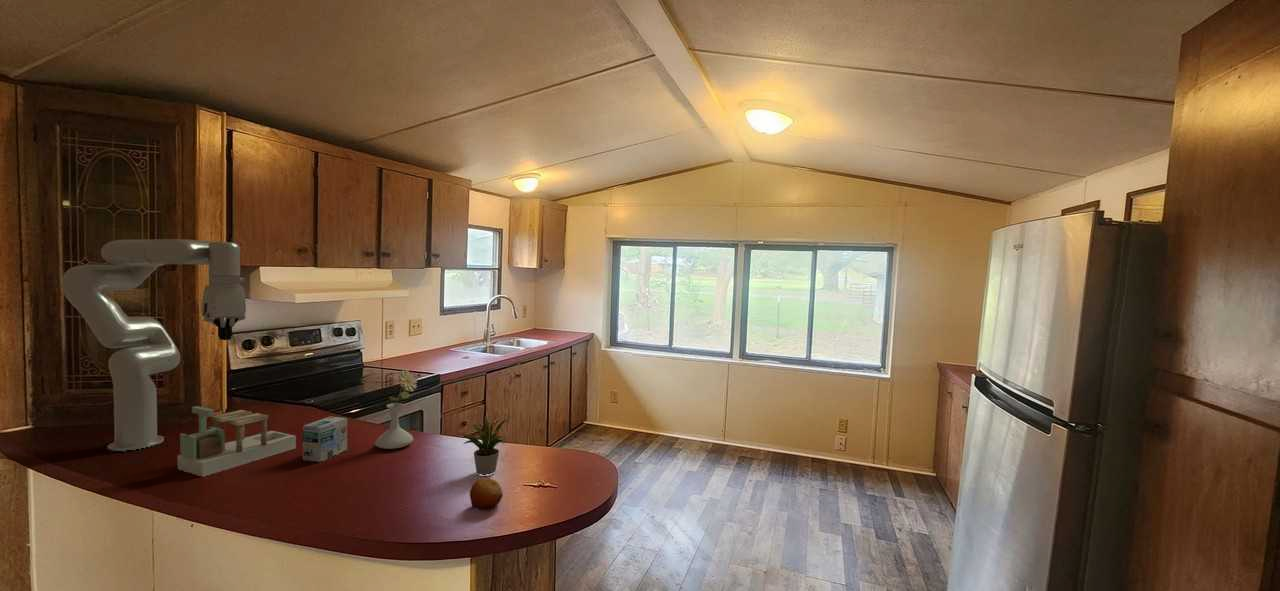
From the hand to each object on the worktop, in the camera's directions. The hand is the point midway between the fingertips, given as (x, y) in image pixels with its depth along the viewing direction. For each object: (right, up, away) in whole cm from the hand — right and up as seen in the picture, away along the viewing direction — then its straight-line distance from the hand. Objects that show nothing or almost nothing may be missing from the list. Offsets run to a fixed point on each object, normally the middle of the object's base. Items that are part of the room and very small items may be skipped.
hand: (225, 339), depth 154 cm
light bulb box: (+32, -36, -1) cm, 49 cm away
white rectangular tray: (+9, -36, -5) cm, 37 cm away
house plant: (+86, -38, -10) cm, 95 cm away
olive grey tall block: (+6, -31, -14) cm, 35 cm away
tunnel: (+9, -32, -5) cm, 33 cm away
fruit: (+92, -39, -32) cm, 105 cm away
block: (+6, -32, -14) cm, 35 cm away
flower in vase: (+49, -36, +9) cm, 62 cm away
